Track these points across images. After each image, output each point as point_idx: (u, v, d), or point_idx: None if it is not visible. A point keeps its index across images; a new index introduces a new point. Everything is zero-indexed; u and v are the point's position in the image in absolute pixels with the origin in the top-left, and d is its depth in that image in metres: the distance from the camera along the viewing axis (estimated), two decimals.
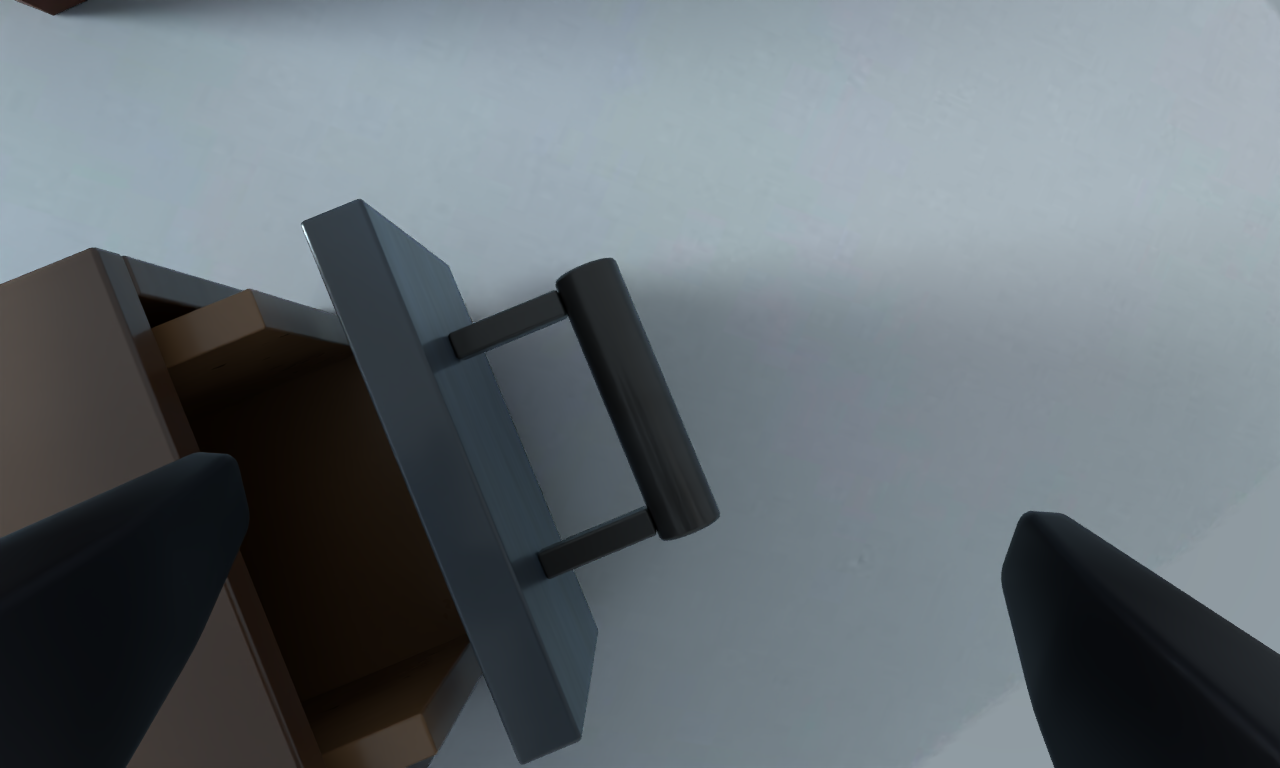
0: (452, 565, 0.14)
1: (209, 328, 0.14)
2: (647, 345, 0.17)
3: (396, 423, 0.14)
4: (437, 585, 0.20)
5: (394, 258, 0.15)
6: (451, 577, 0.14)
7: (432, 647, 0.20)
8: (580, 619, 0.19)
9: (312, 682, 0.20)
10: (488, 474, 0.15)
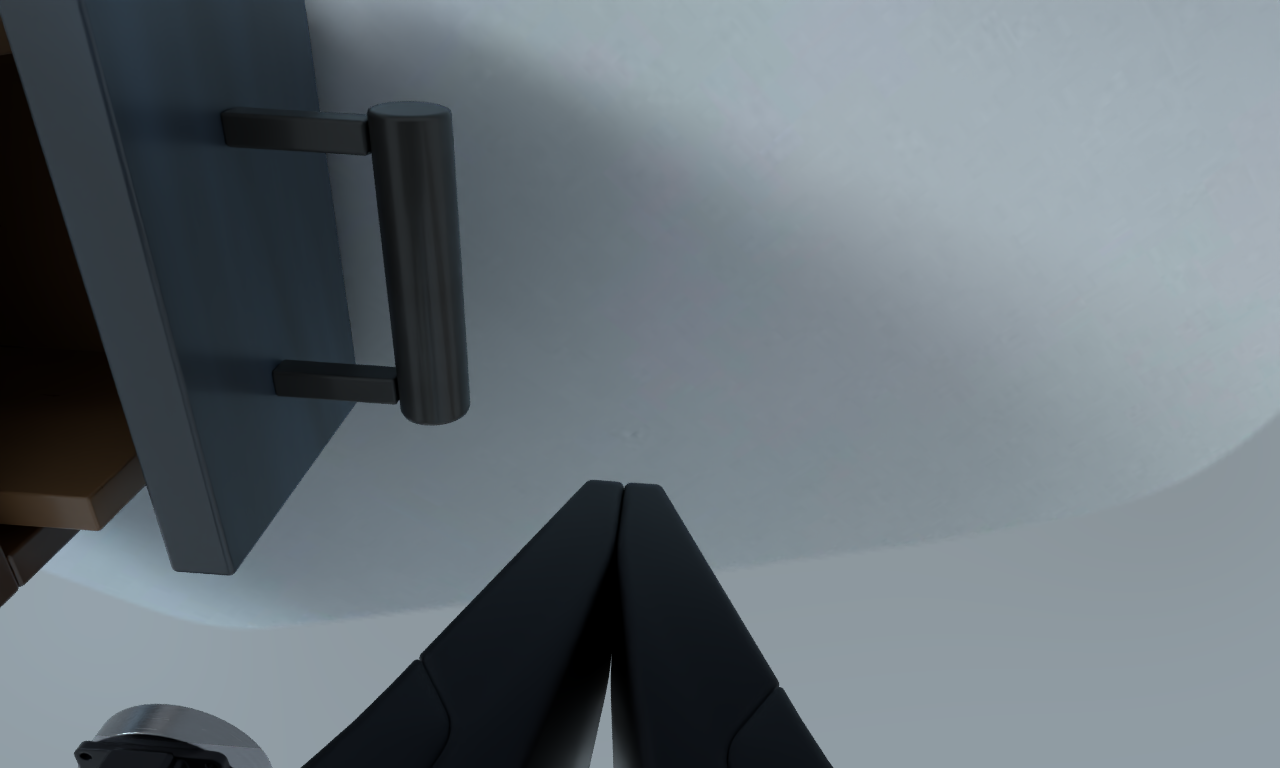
0: (132, 405, 0.13)
1: None
2: (447, 233, 0.14)
3: (88, 252, 0.12)
4: None
5: (126, 39, 0.11)
6: (130, 415, 0.13)
7: None
8: (325, 407, 0.19)
9: (58, 335, 0.19)
10: (211, 312, 0.14)
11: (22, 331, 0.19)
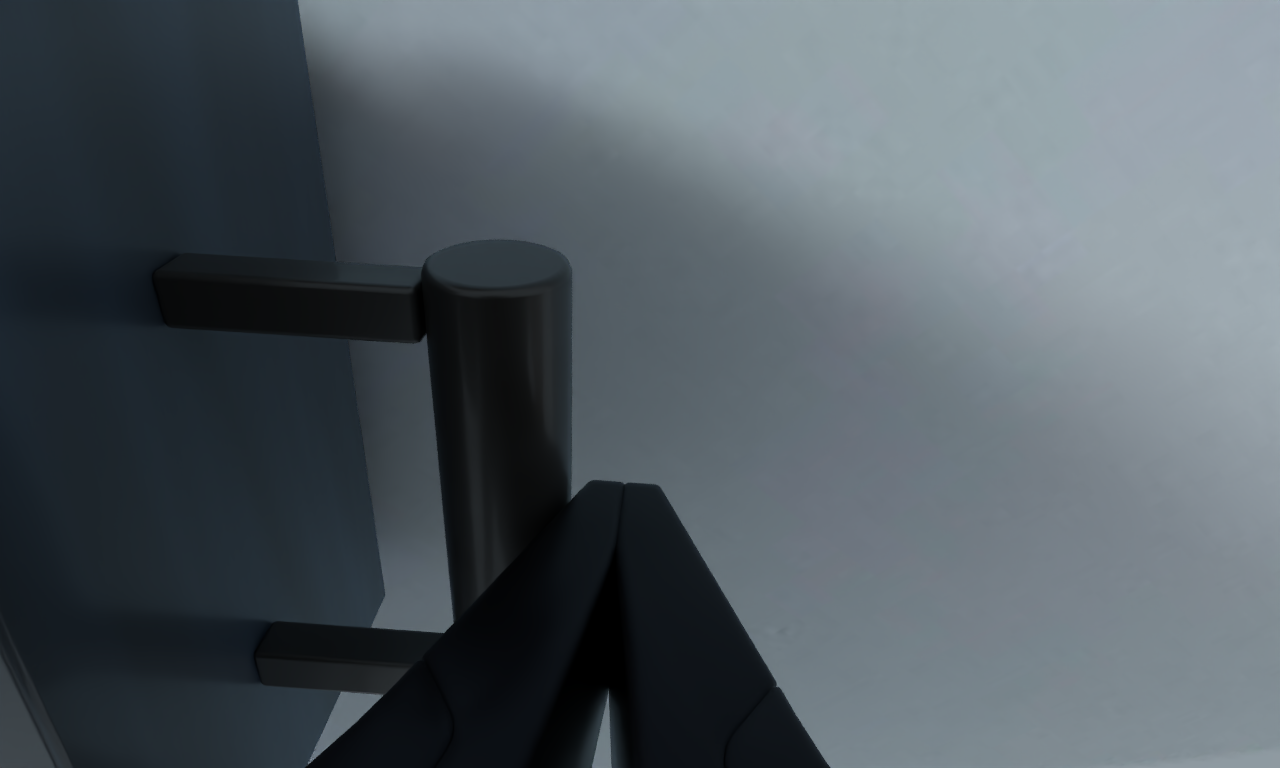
0: None
1: None
2: (558, 466, 0.08)
3: None
4: None
5: None
6: None
7: None
8: None
9: None
10: (138, 628, 0.08)
11: None
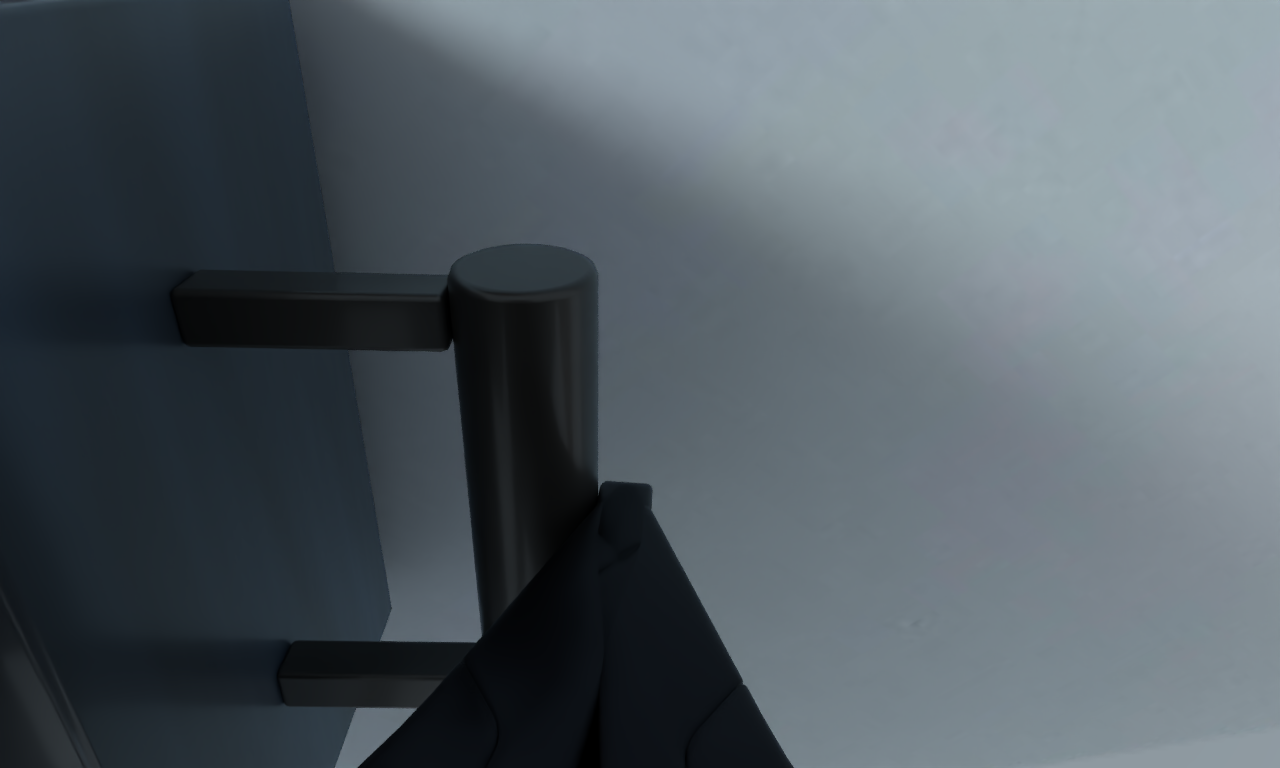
0: None
1: None
2: (588, 468, 0.08)
3: None
4: None
5: None
6: None
7: None
8: None
9: None
10: (171, 655, 0.07)
11: None
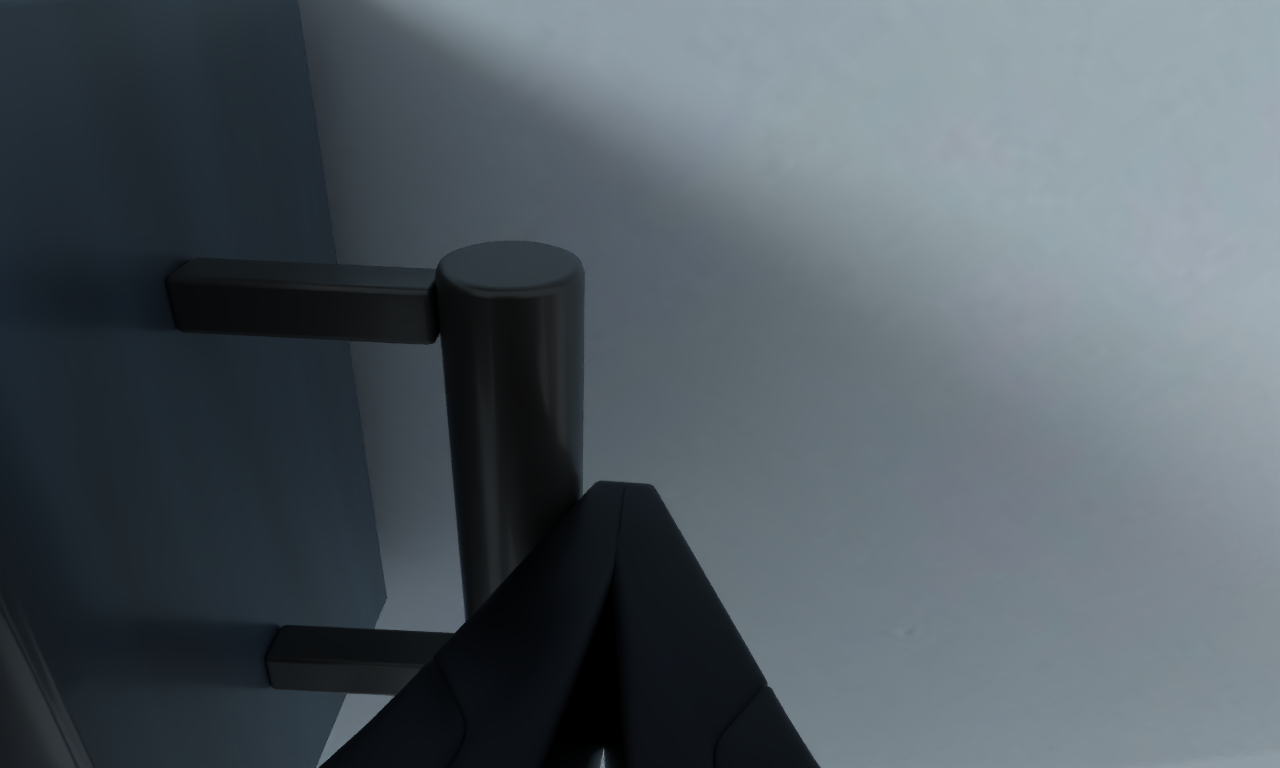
0: None
1: None
2: (571, 464, 0.08)
3: None
4: None
5: None
6: None
7: None
8: None
9: None
10: (156, 633, 0.08)
11: None
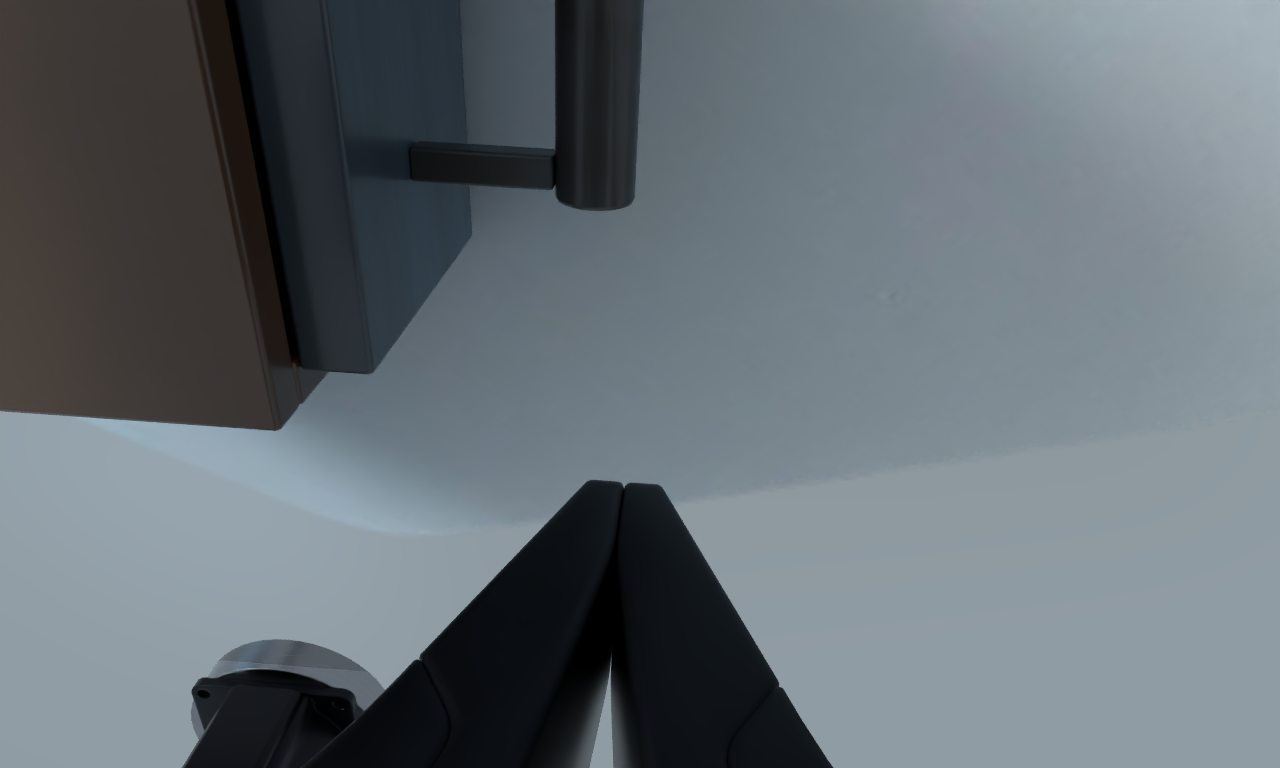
0: (274, 135, 0.11)
1: None
2: None
3: None
4: None
5: None
6: (269, 148, 0.11)
7: None
8: (447, 226, 0.16)
9: None
10: (363, 33, 0.11)
11: None
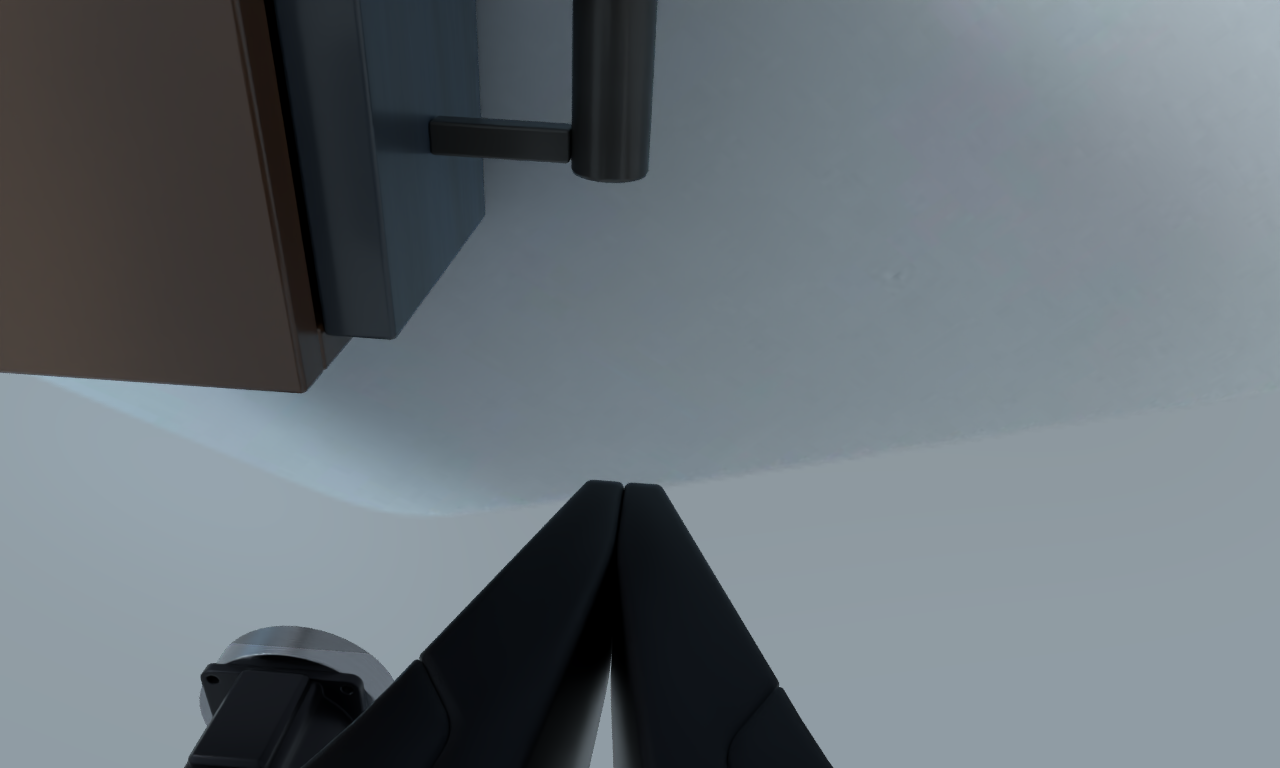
0: (303, 102, 0.11)
1: None
2: None
3: None
4: None
5: None
6: (298, 115, 0.11)
7: None
8: (462, 202, 0.17)
9: None
10: (388, 4, 0.12)
11: None
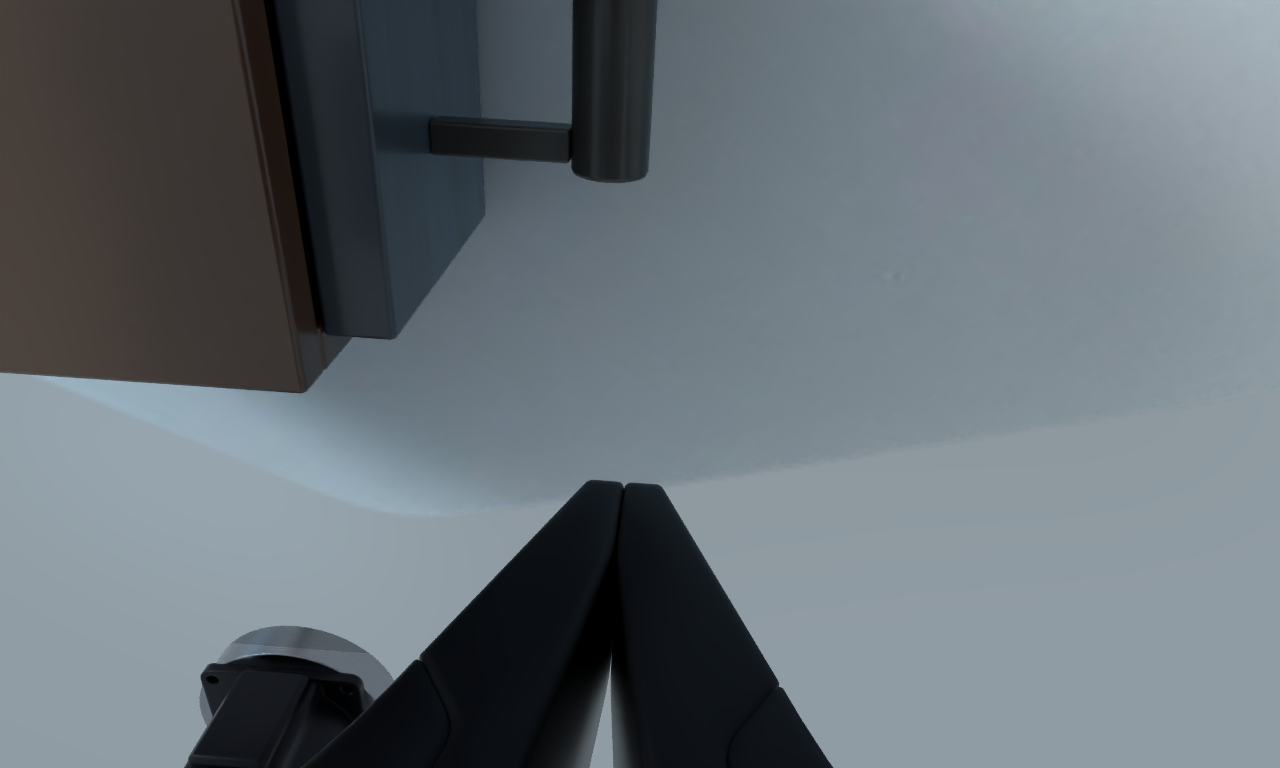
0: (303, 102, 0.11)
1: None
2: None
3: None
4: None
5: None
6: (298, 115, 0.11)
7: None
8: (462, 202, 0.17)
9: None
10: (388, 4, 0.12)
11: None
